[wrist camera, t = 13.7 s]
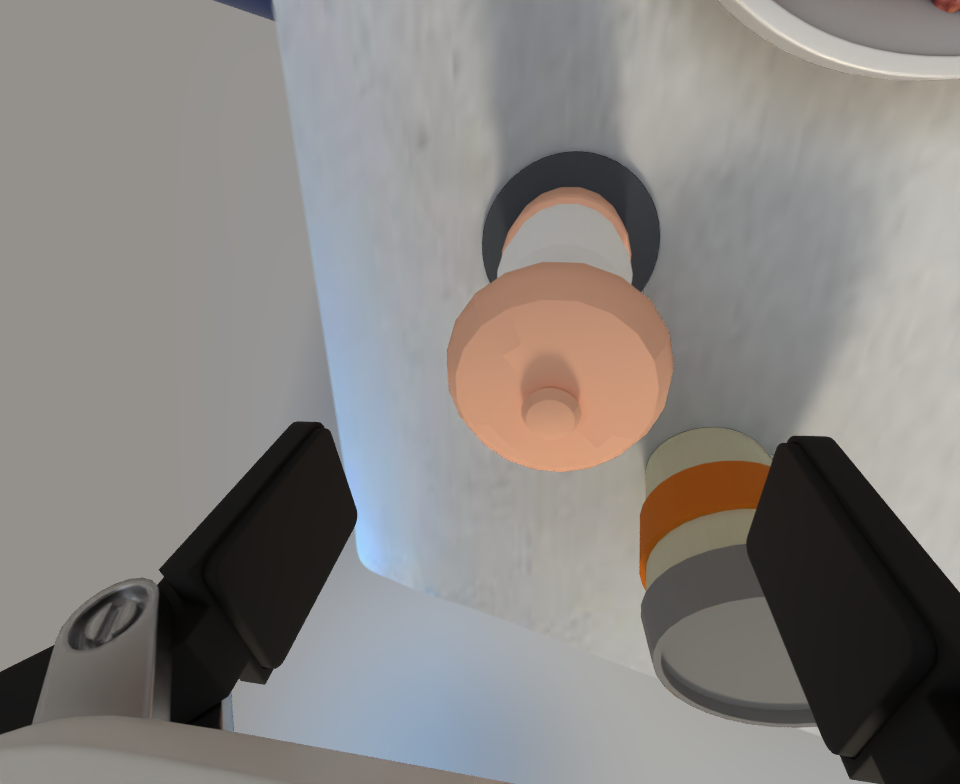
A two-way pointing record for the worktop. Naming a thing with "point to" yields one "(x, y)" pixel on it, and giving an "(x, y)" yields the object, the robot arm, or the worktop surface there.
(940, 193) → the worktop surface
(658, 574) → the reusable coffee cup
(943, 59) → the bowl
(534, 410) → the salt shaker
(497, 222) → the coaster
